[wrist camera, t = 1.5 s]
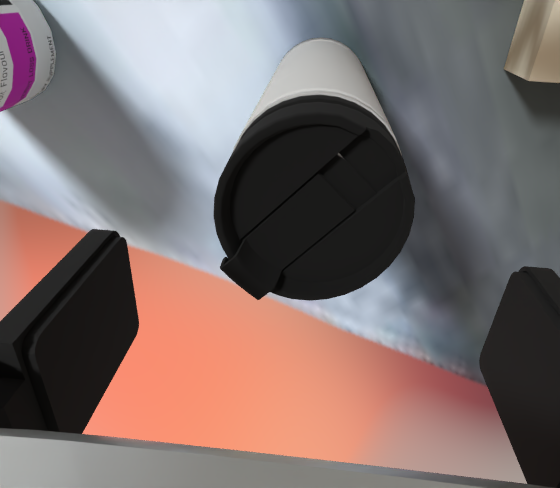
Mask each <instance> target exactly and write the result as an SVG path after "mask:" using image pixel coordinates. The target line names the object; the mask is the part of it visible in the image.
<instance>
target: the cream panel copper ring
mask: <svg viewBox="0 0 560 488" xmlns="http://www.w3.org/2000/svg"><path fill="white" fill-rule="evenodd" d="M504 69H505V70H507V71H509V72H511V73H513V74H515V75H517V76H519V77H521V78H523V79H525V80H528V81H536V82H552V83H560V0H524V3H523V6H522V9H521V13H520V16H519V19H518V23H517V26H516V30H515V33H514V36H513V40H512V43H511V46H510V50H509V53H508V57H507V60H506V63H505V67H504Z"/></svg>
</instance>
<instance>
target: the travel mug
mask: <svg viewBox="0 0 560 488" xmlns="http://www.w3.org/2000/svg"><path fill="white" fill-rule="evenodd" d="M414 205H415V197H414V194H413V191H412V188H411V184H410V181H409V177H408V173H407V169H406V166H405V163H404V160H403V158H402V153H401V150H400V148H399V145H398V143H397V140H396V138H395V135H394V134H393V131H392V129H391V127H390V125H389V123H388V120H387V118H386V116H385V114H384V112H383V110H382V107H381V105H380V103H379V101H378V99H377V97H376V95H375V92H374V90H373V88H372V86H371V84H370V82H369V79H368V77H367V75H366V73H365V71H364V69H363V67H362V64H361V62H360V60H359V59H358V57H357V56H356V55H355V53H354V52H353V51H352V50H351V49H350V48H349V47H347V46H346V45H344V44H343V43H341V42H339V41H336V40H333V39H329V38H312V39H309V40H306V41H303V42H301V43H299V44H297V45H296V46H294V47H293V48H292V49H291V50H290V51H288V52H287V54H286V55H285V56H284V57H283V59H282V60H281V62H280V64H279V65H278V67H277V69H276V71H275V73H274V75H273V76H272V78H271V80H270V82H269V84H268V86H267V87H266V89H265V91H264V93H263V95H262V96H261V98H260V100H259V102H258V104H257V106H256V107H255V109H254V111H253V113H252V115H251V117H250V118H249V120H248V122H247V124H246V126H245V128H244V129H243V131H242V133H241V135H240V137H239V139H238V141H237V143H236V145H235V147H234V150H233V153H232V155H231V157H230V159H229V161H228V163H227V165H226V167H225V169H224V171H223V173H222V175H221V177H220V179H219V182H218V186H217V190H216V194H215V197H214V220H215V226H216V232H217V235H218V238H219V241H220V243H221V246H222V248H223V250H224V251H225V253H226V255H227V257H228V258H227V257H225V258H224V259H223V261H222V263H221V266H220V269H221V270H222V271H223V272H224V273H225V274H226V275H227V276H228V277H229V278H231V279H232V280H233V281H234V282H235V283H236V284H237V285H239V286H240V287H241V288H243V289H244V290H245V291H246V292H248V293H249V294H251V295H252V296H253V297H255V298H256V299H257V300H259V299H261V298H262V297H263V296H265V295H266V294H267V293H269V292H272V293H274V294H276V295H279V296H283V297H287V298H291V299H299V300H321V299H329V298H333V297H337V296H341V295H345V294H347V293H350V292H352V291H354V290H357V289H359V288H361V287H363V286H364V285H366V284H368V283H369V282H371V281H372V280H374V279H375V278H377V277H378V276H379V275H380V274H381V273H382V272H383V271H384V270H386V269H387V268H388V267H389V266H390V265H391V263H392V262H393V261H394V259H395V258H396V257H397V256H398V254H399V253H400V252H401V250H402V248H403V246H404V244H405V242H406V240H407V238H408V236H409V233H410V229H411V226H412V222H413V218H414Z"/></svg>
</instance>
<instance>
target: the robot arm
mask: <svg viewBox="0 0 560 488" xmlns="http://www.w3.org/2000/svg"><path fill="white" fill-rule="evenodd" d="M138 327H139V319H138V313H137V306H136V300H135V293H134V287H133V280H132V274H131V268H130V261H129V254H128V248H127V242H126V240H125V238H123V237H120V235H119V234H118V232H116V231H109V230H98V229H92V230H91V231H89V232H88V233H87V234H86V235H85V237H84V238H82V239H81V241H79V242H78V243H77V245H76V246H75V247H74V248H73V249H72V250H71V251H70V252H69V253H68V254H67V255H66V256H65V257H64V258H63V259H62V260H61V261H60V262H59V263H58V264H57V265H56V266H55V267H54V268H53V269H52V270H51V271H50V272H49V273H48V274H47V275H46V276H45V277H44V278H43V279H42V280H41V281H40V282H39V283H38V284H37V285H36V286H35V287H34V288H33V289H32V290H31V291H30V292H29V293H28V294H27V295H26V296H25V297H24V298H23V299H22V300H21V301H20V302H19V303H18V304H17V305H16V306H15V307H14V308H13V309H12V310H11V311H10V312H9V313H8V314H7V315H6V316H5V317H4V318H3V319H2V320H1V321H0V488H560V278H559V277H558V275H557V274H556V273H555V272H554V271H553V270H552V269H548V268H537V267H526V266H525V267H522V268H521V269H520V270H519V272H513V273H512V274H511V276H510V279H509V281H508V284H507V286H506V289H505V292H504V294H503V297H502V299H501V302H500V305H499V307H498V310H497V312H496V315H495V318H494V320H493V323H492V325H491V328H490V331H489V333H488V336H487V339H486V341H485V344H484V346H483V349H482V352H481V354H480V360H479V363H480V369H481V372H482V374H483V377H484V379H485V382H486V384H487V387H488V389H489V391H490V394H491V396H492V398H493V401H494V403H495V406H496V408H497V411H498V413H499V416H500V418H501V420H502V423H503V425H504V428H505V430H506V433H507V435H508V438H509V440H510V443H511V445H512V447H513V450H514V452H515V455H516V457H517V460H518V462H519V464H520V467H521V469H522V471H523V474H524V476H525V479H526V481H527V484H522V483H514V482H505V481H497V480H489V479H481V478H471V477H464V476H456V475H446V474H439V473H430V472H421V471H413V470H404V469H397V468H388V467H379V466H370V465H361V464H353V463H344V462H336V461H326V460H318V459H309V458H300V457H291V456H283V455H273V454H265V453H256V452H247V451H238V450H229V449H220V448H210V447H201V446H191V445H183V444H172V443H164V442H155V441H145V440H135V439H127V438H117V437H108V436H97V435H85V434H82V433H83V431H84V429H85V427H86V426H87V424H88V422H89V420H90V418H91V417H92V415H93V413H94V411H95V409H96V407H97V406H98V404H99V402H100V400H101V398H102V397H103V395H104V393H105V391H106V389H107V388H108V386H109V384H110V382H111V380H112V379H113V377H114V375H115V373H116V371H117V369H118V367H119V366H120V364H121V362H122V360H123V359H124V357H125V355H126V353H127V351H128V350H129V348H130V346H131V344H132V342H133V340H134V338H135V337H136V335H137V332H138Z"/></svg>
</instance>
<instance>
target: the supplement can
mask: <svg viewBox="0 0 560 488" xmlns="http://www.w3.org/2000/svg"><path fill="white" fill-rule="evenodd" d="M55 60H56V50H55V46H54V41H53V37H52V32H51V29H50V27H49V25H48V24H47V22H46V20H45V18H44V16H43V14H42V12H41V10H40V9H39V7H38V6H37V5H36V3H35V2H34V1H33V0H0V112H1V111H3V110H6V109H8V108H11V107H13V106H16V105H18V104H21V103H23V102H26V101H28V100H31V99H33V98H34V97H36V96H37V95H38V94H40V93H41V92H43V91H44V90H46V88H47V86H48V84H49V82H50V81H51V79H52V77H53V75H54V70H55Z"/></svg>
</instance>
